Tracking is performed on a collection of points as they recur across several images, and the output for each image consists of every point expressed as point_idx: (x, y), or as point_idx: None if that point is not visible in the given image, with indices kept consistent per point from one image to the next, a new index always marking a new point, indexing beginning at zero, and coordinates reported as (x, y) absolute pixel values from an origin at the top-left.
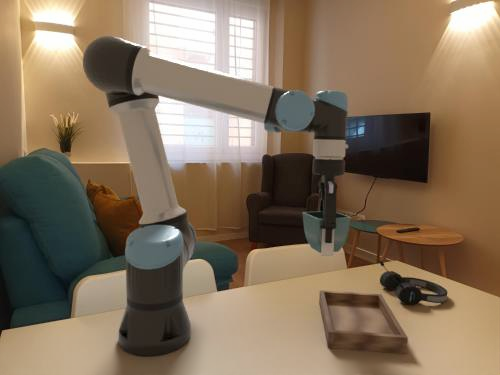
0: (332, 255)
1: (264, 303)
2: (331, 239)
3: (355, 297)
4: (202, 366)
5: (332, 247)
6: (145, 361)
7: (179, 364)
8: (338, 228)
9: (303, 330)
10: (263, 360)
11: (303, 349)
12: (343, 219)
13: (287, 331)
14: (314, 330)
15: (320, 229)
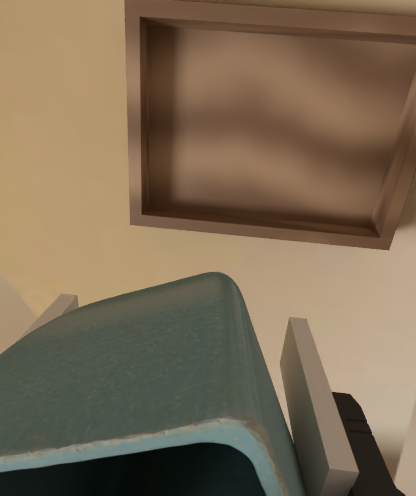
0: (306, 325)
1: None
2: (364, 420)
3: (144, 109)
4: (397, 427)
5: (315, 357)
6: None
7: (386, 450)
8: (278, 416)
9: (292, 272)
10: (397, 352)
11: (371, 283)
12: (288, 479)
13: (295, 304)
14: (293, 249)
15: None
